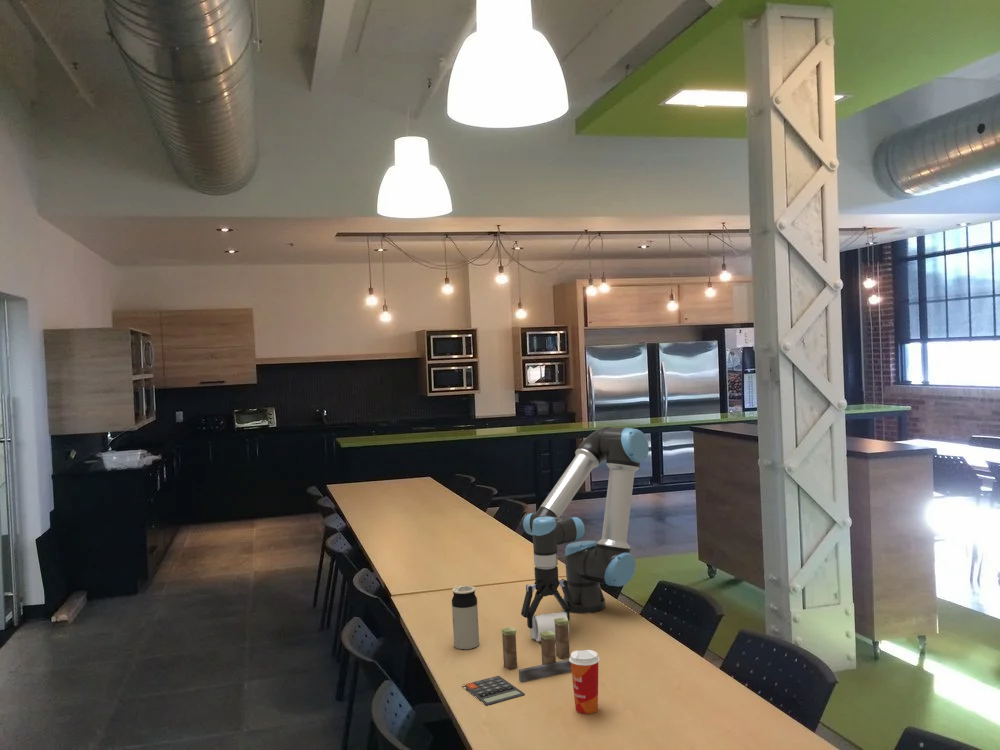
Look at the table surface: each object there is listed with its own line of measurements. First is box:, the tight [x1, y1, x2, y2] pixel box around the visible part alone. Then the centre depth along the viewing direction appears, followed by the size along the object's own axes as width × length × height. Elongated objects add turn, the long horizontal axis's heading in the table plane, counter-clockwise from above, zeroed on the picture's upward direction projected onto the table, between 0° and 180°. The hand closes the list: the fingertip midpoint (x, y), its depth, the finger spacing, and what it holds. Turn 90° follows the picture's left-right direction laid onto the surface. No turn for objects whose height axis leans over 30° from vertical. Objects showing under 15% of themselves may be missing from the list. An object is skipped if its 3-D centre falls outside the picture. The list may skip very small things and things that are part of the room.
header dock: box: [501, 618, 572, 683], centre depth 230 cm, size 20×13×11 cm, turn 112°
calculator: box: [462, 675, 525, 707], centre depth 216 cm, size 12×1×15 cm
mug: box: [533, 611, 570, 643], centre depth 255 cm, size 12×10×8 cm
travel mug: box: [451, 585, 480, 650], centre depth 251 cm, size 8×8×18 cm
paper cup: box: [568, 649, 600, 715], centre depth 201 cm, size 8×8×14 cm
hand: (549, 634), depth 255 cm, fingers closed on mug, 10 cm apart
